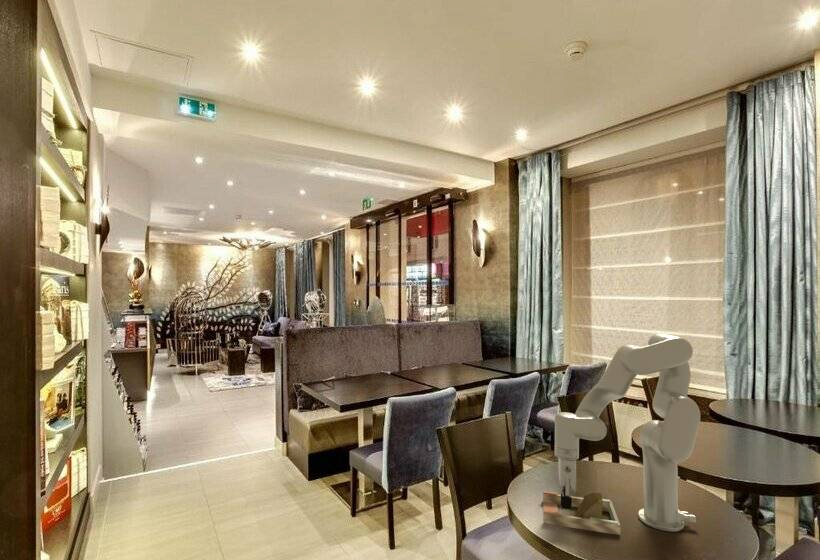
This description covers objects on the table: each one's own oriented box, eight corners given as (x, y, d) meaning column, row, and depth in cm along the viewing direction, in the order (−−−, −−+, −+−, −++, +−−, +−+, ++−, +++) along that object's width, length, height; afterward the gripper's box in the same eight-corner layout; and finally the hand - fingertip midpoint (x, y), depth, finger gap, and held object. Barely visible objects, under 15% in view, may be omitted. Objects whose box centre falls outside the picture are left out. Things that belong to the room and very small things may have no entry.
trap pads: (556, 503, 147) (556, 492, 147) (559, 525, 133) (559, 514, 133) (543, 501, 148) (543, 491, 148) (544, 523, 134) (544, 512, 134)
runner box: (611, 510, 142) (611, 500, 142) (620, 535, 128) (620, 523, 128) (543, 501, 148) (543, 491, 148) (544, 523, 134) (544, 512, 134)
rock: (574, 523, 130) (608, 522, 128) (568, 492, 135) (600, 491, 134) (572, 529, 138) (604, 529, 136) (566, 500, 143) (597, 499, 142)
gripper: (581, 461, 131) (580, 521, 131) (576, 445, 146) (576, 499, 145) (555, 458, 134) (555, 517, 133) (553, 442, 148) (553, 495, 147)
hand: (566, 507), depth 139 cm, fingers closed
